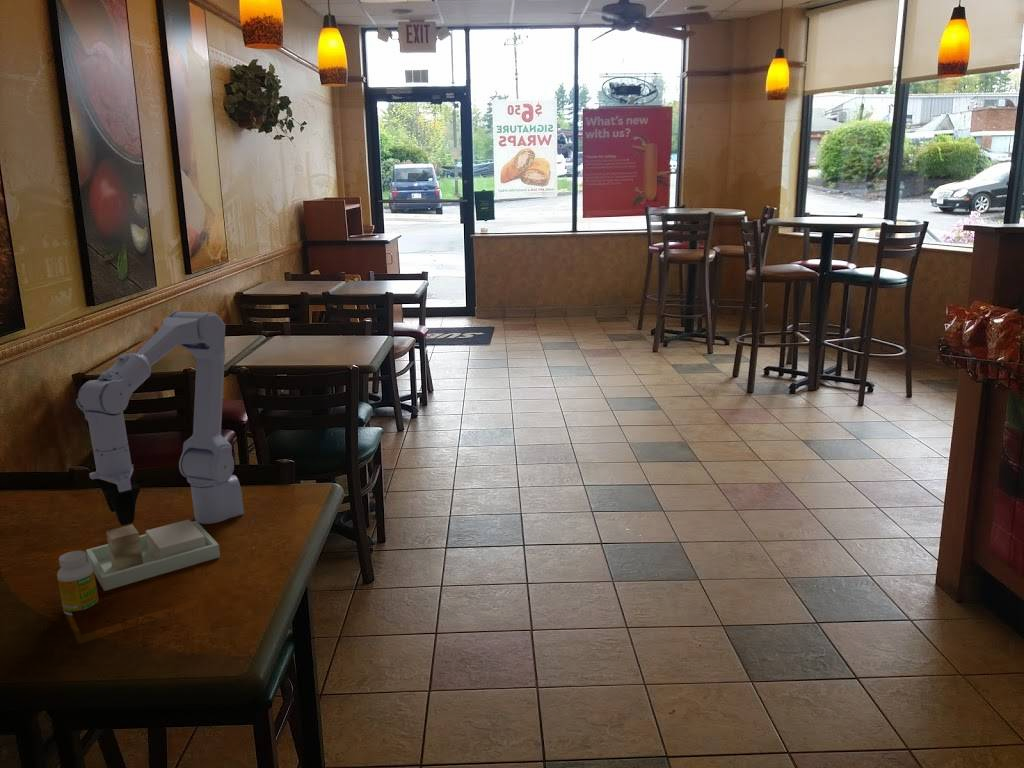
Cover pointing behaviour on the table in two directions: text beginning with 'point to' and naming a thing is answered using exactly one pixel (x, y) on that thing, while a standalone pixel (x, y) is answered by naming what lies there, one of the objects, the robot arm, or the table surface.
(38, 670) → the table surface
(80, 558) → the supplement bottle
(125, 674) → the table surface
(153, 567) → the pale green tray
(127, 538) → the maple block
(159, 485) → the table surface
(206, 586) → the table surface
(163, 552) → the light gray block
